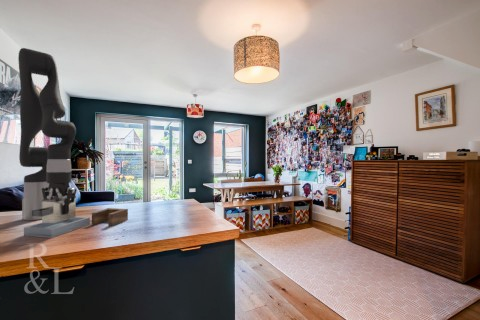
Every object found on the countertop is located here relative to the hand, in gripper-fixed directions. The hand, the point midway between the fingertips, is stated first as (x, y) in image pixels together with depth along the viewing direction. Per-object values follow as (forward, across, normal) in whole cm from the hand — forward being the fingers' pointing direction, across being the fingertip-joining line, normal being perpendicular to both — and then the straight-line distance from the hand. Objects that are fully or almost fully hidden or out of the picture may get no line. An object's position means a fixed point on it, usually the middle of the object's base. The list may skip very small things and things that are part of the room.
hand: (59, 213), depth 86 cm
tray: (+6, 0, 0) cm, 6 cm away
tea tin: (+2, 0, -2) cm, 3 cm away
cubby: (+6, +12, +12) cm, 18 cm away
